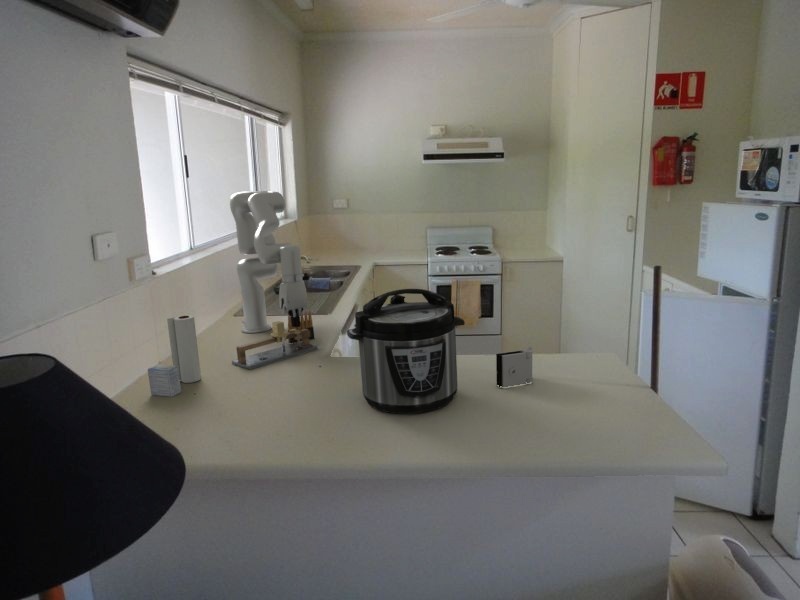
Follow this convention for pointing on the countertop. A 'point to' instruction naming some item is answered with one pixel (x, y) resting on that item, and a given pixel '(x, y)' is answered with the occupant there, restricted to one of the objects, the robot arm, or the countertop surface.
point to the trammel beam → (293, 333)
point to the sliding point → (279, 333)
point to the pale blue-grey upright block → (164, 380)
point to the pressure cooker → (407, 352)
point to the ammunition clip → (302, 326)
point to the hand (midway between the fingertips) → (296, 326)
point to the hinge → (514, 367)
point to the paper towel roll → (184, 347)
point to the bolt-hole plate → (274, 355)
